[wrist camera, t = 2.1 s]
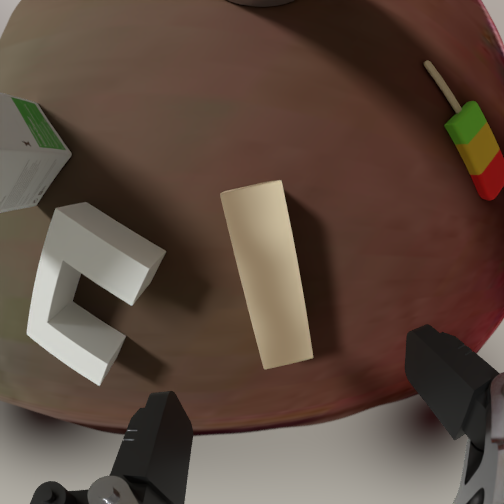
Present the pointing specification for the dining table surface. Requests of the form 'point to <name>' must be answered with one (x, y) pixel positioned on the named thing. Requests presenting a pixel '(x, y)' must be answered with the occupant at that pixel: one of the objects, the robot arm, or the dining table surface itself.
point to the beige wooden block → (269, 271)
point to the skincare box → (27, 153)
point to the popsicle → (473, 142)
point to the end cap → (96, 269)
